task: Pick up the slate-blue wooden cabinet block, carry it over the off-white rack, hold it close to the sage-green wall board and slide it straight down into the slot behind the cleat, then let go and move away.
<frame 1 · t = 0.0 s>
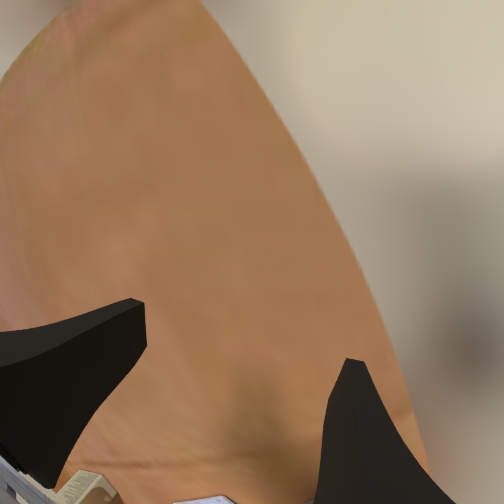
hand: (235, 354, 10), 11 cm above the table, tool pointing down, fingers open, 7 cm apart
skincare box: (99, 480, 33), on the table
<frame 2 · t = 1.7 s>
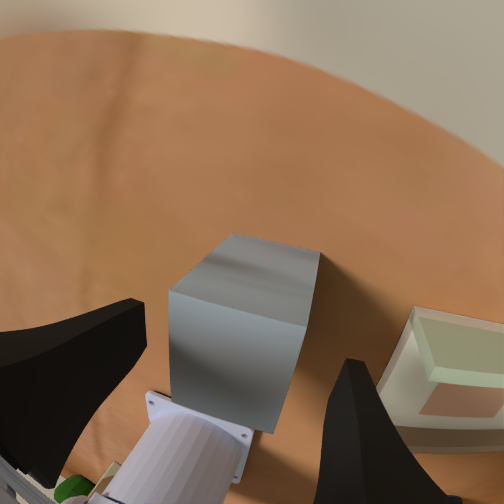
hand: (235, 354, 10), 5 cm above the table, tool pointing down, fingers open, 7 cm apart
skincare box: (126, 474, 29), on the table
bell pepper: (89, 482, 38), on the table
slate cabinet block: (267, 291, 15), on the table
cleat rack: (472, 381, 13), on the table
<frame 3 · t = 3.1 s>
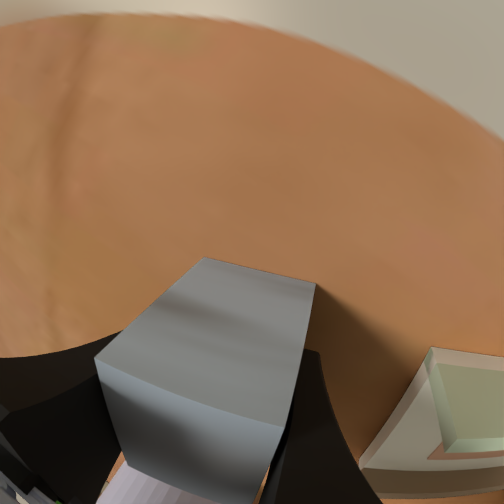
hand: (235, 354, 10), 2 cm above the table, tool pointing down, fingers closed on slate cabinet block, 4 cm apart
slate cabinet block: (248, 329, 12), on the table, touching gripper
cleat rack: (488, 420, 10), on the table
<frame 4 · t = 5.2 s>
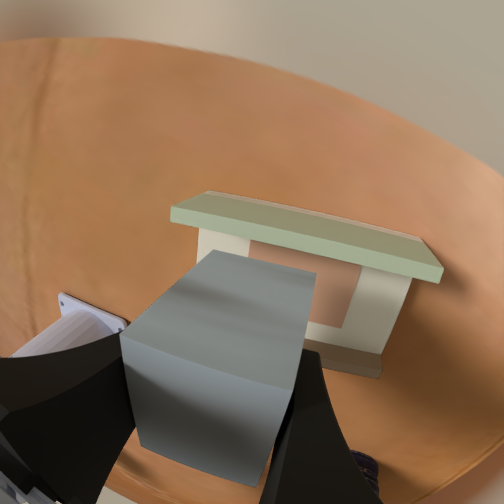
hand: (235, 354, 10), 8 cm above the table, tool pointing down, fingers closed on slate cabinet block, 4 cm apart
storage jar: (330, 471, 24), on the table
slate cabinet block: (254, 317, 12), point 6 cm above the table, touching gripper
cleat rack: (300, 278, 18), on the table
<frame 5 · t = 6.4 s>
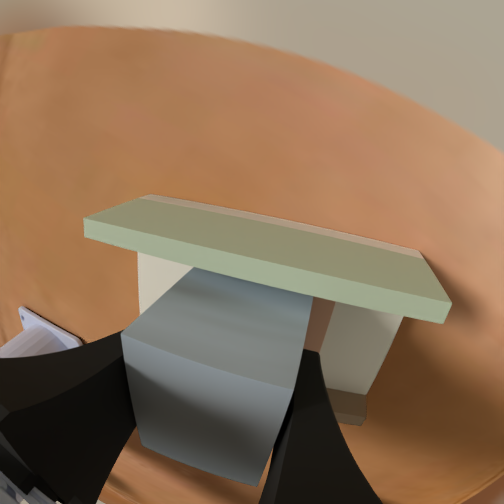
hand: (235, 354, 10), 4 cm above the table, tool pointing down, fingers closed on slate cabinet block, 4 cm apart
slate cabinet block: (255, 316, 12), point 2 cm above the table, touching gripper
cleat rack: (263, 302, 14), on the table
when the fingers open (4 cm above the table, at t = 7.2 s): slate cabinet block stays where it is, resting on cleat rack.
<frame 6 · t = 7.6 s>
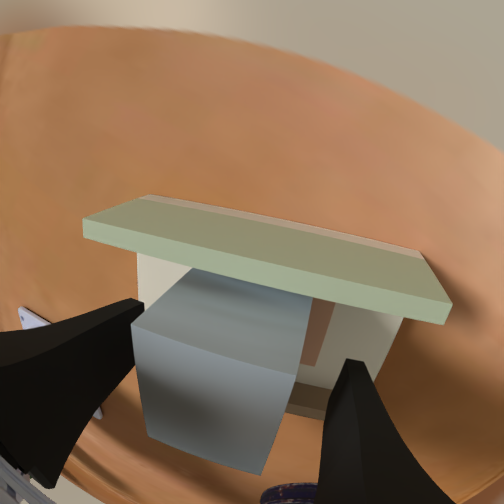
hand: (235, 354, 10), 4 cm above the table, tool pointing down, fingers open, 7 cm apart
storage jar: (314, 502, 20), on the table
slate cabinet block: (257, 310, 13), point 1 cm above the table, touching cleat rack
cleat rack: (263, 303, 14), on the table
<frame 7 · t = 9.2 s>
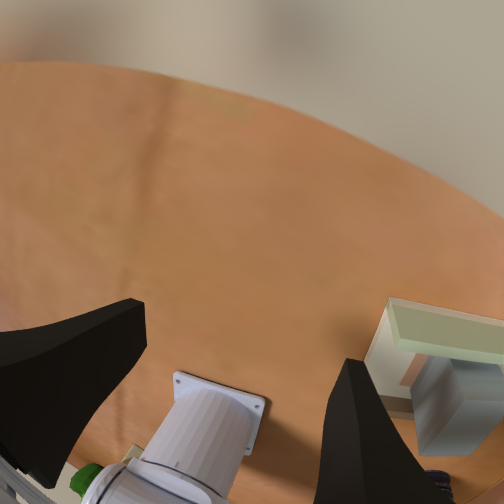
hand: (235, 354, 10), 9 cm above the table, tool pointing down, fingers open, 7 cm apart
skincare box: (144, 456, 34), on the table
bell pepper: (103, 470, 43), on the table
storage jar: (411, 487, 24), on the table
slate cabinet block: (448, 366, 17), point 1 cm above the table, touching cleat rack
cleat rack: (443, 359, 18), on the table
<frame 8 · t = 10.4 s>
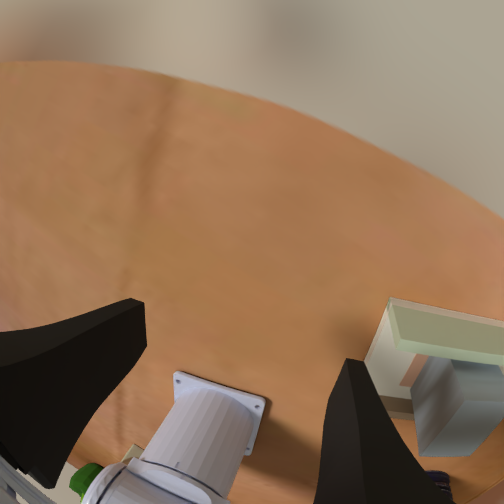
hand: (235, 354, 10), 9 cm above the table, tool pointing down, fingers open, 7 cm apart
skincare box: (144, 456, 34), on the table
bell pepper: (103, 470, 43), on the table
storage jar: (411, 488, 24), on the table
slate cabinet block: (448, 367, 17), point 1 cm above the table, touching cleat rack
cleat rack: (443, 360, 18), on the table
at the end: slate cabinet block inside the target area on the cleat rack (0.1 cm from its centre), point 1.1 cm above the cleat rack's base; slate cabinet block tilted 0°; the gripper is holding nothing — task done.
